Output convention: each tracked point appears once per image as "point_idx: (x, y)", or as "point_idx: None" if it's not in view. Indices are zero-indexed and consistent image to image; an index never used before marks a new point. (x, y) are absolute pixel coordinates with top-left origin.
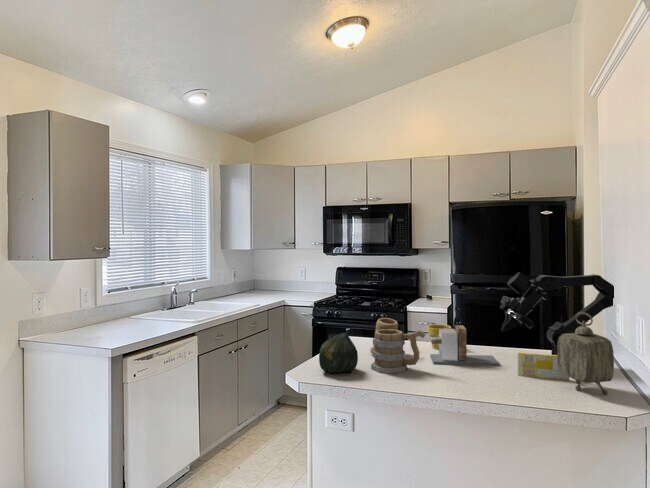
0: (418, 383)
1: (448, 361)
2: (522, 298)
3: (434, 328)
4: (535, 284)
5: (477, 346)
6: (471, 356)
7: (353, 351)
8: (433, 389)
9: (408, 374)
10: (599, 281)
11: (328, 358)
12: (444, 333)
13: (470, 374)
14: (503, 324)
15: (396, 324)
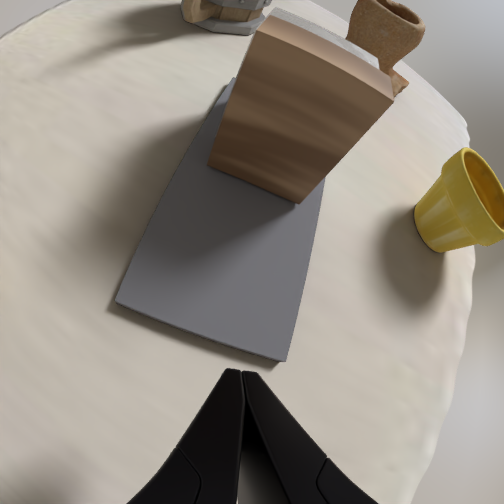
0: (92, 16)
1: (221, 110)
2: None
3: (462, 149)
4: None
5: (448, 380)
6: (283, 238)
7: None
8: (46, 26)
9: (159, 19)
10: None
11: None
12: (271, 11)
13: (70, 116)
14: (286, 430)
15: (381, 9)
